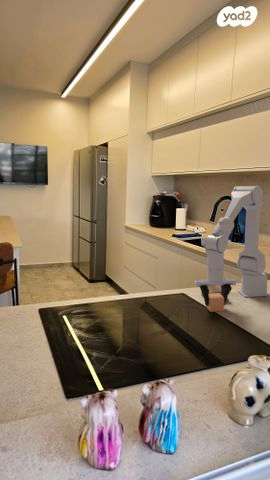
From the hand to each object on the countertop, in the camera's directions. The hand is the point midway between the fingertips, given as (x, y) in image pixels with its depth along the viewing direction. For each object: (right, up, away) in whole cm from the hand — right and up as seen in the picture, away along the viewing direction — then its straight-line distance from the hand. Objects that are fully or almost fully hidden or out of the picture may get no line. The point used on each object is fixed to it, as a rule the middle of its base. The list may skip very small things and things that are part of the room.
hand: (214, 304), depth 119 cm
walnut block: (+2, 0, +11) cm, 12 cm away
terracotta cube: (0, -2, 0) cm, 2 cm away
